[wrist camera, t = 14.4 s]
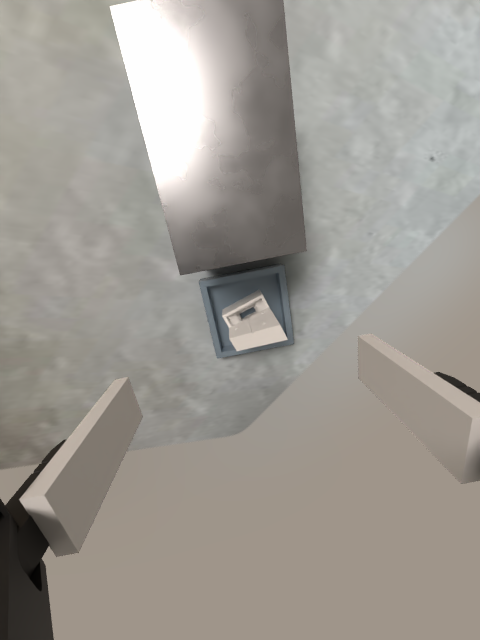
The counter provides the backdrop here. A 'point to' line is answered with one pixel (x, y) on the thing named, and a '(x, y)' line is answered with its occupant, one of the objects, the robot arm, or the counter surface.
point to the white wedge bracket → (252, 323)
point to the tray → (236, 287)
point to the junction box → (217, 125)
